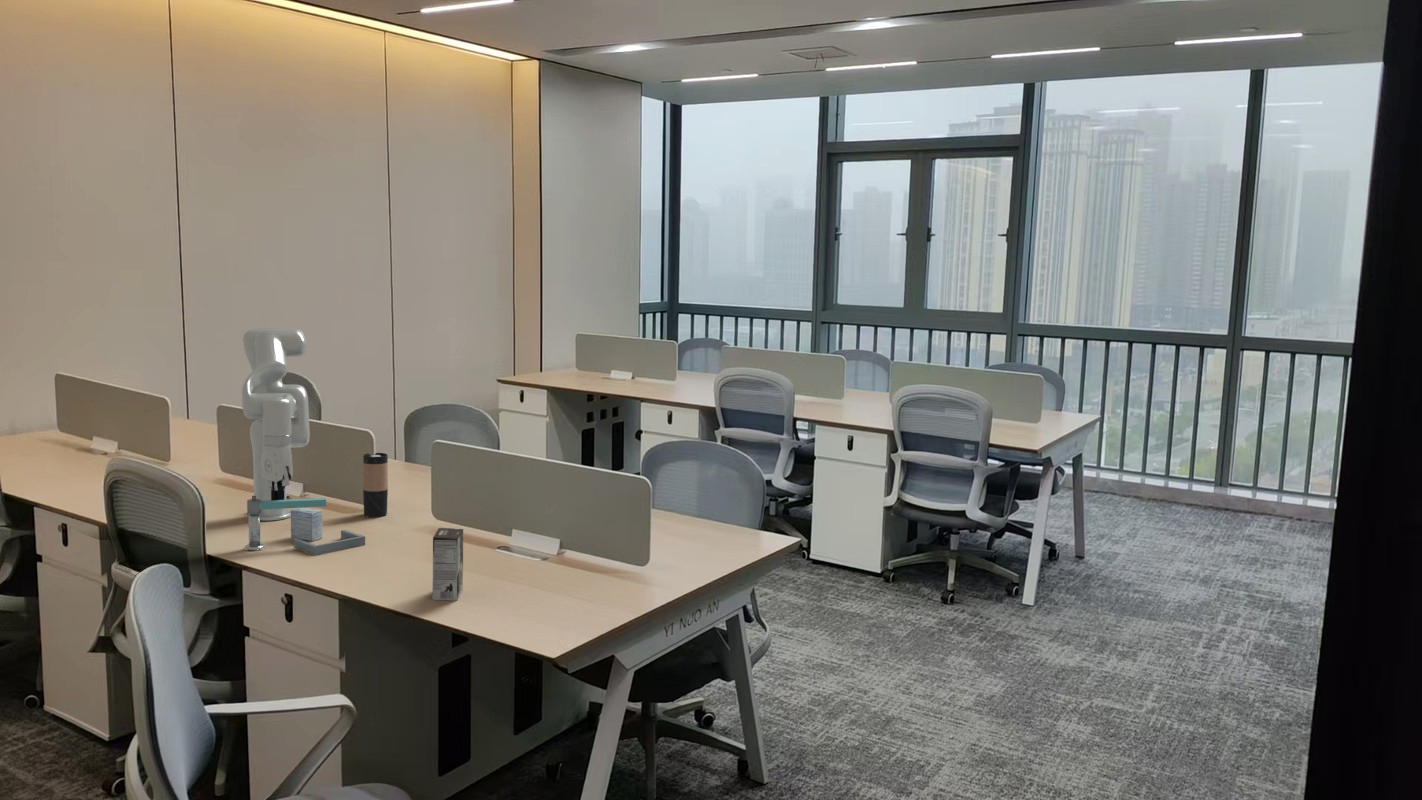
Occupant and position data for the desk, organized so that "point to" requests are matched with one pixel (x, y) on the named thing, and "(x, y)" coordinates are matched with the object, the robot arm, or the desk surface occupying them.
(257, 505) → the bar
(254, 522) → the post
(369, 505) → the travel mug
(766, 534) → the desk surface
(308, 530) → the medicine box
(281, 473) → the robot arm
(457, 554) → the coffee box
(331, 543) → the bay
